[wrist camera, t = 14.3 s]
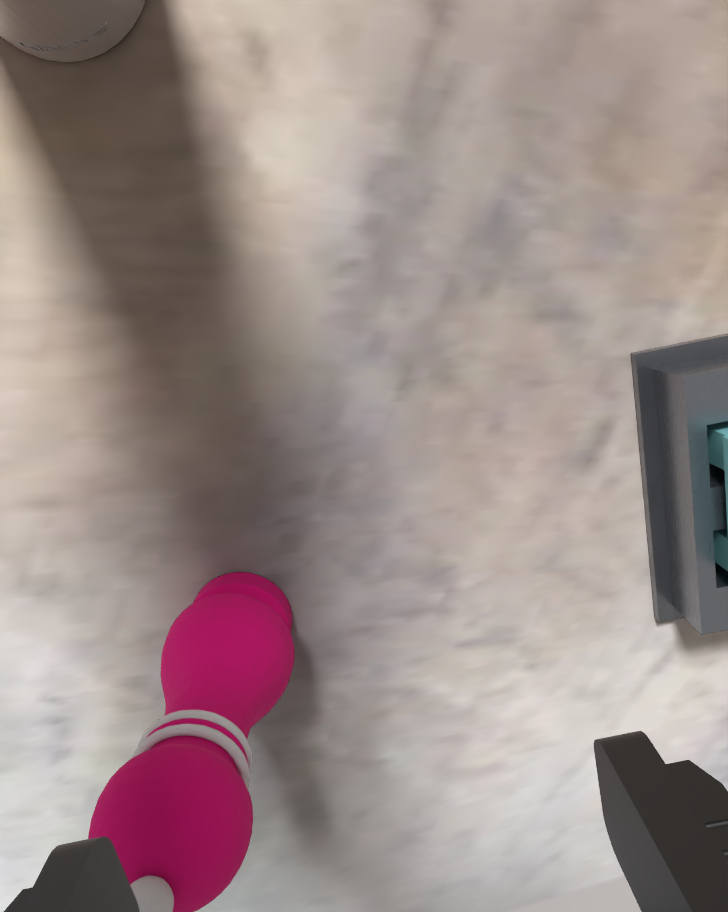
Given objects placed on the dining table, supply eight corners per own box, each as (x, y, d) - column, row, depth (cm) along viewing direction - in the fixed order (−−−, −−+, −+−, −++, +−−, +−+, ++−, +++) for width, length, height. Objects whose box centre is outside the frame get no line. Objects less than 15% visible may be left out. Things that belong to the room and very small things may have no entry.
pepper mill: (321, 597, 39) (291, 900, 20) (265, 685, 41) (187, 1045, 21) (218, 543, 38) (80, 806, 19) (164, 634, 40) (-14, 965, 20)
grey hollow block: (630, 353, 36) (664, 361, 32) (754, 328, 35) (804, 333, 31) (654, 617, 40) (687, 652, 36) (764, 596, 40) (809, 630, 36)
